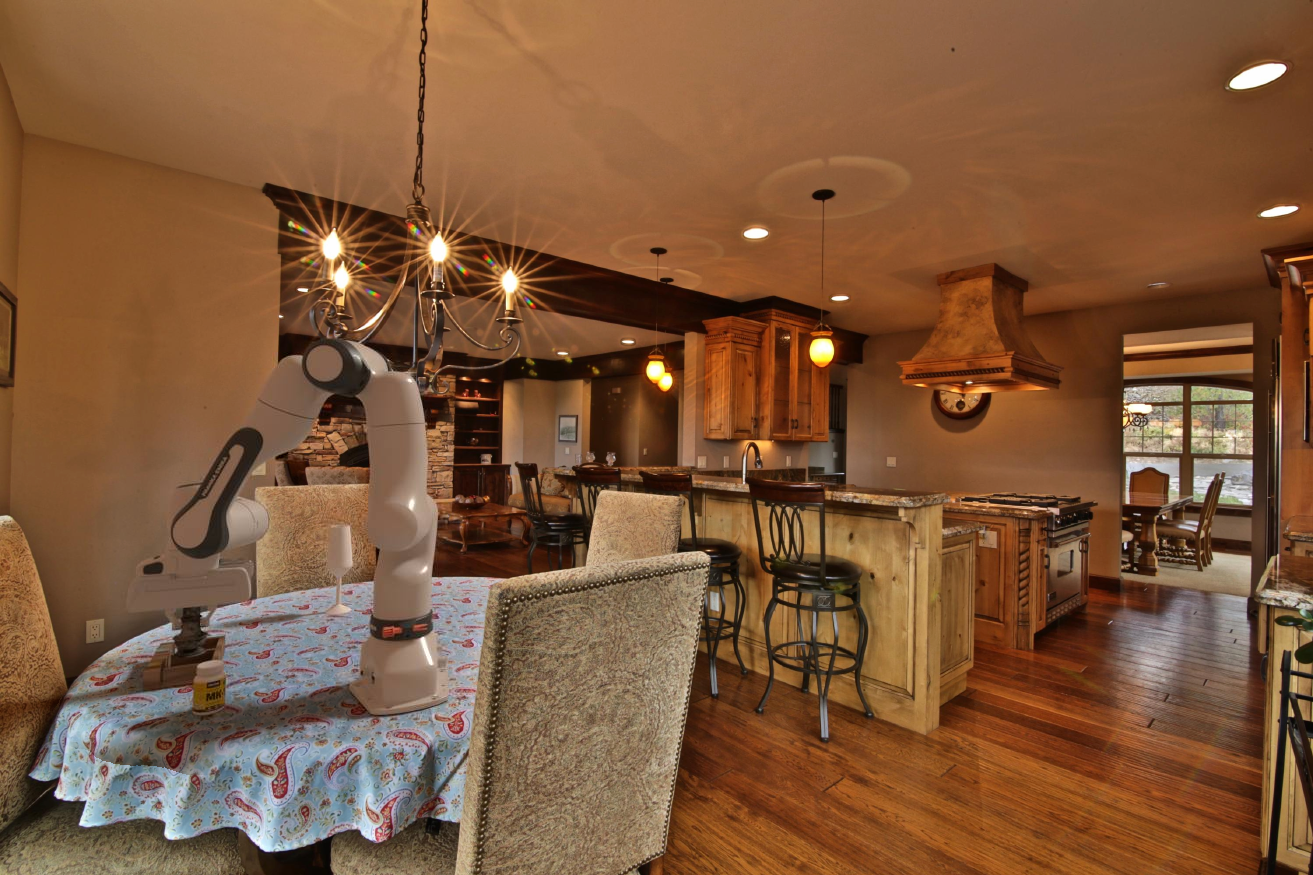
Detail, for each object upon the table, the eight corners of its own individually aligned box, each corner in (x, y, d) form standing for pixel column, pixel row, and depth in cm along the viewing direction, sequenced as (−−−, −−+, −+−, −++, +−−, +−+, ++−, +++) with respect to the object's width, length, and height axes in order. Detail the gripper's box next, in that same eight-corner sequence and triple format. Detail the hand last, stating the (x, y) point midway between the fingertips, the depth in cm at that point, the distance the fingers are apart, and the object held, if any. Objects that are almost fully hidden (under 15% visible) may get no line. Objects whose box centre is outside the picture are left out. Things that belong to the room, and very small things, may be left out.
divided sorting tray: (216, 679, 122) (216, 660, 122) (142, 691, 116) (143, 670, 116) (224, 651, 137) (225, 634, 137) (160, 659, 131) (160, 641, 131)
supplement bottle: (205, 718, 106) (207, 670, 106) (185, 713, 107) (187, 667, 107) (231, 706, 111) (232, 660, 111) (212, 702, 112) (213, 657, 112)
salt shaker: (166, 654, 122) (168, 595, 122) (199, 646, 127) (200, 589, 127) (180, 660, 119) (182, 600, 119) (214, 651, 125) (215, 594, 124)
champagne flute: (350, 606, 174) (352, 523, 174) (352, 612, 168) (355, 527, 168) (323, 609, 170) (326, 524, 170) (325, 615, 165) (328, 528, 165)
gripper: (254, 554, 131) (252, 617, 131) (132, 561, 121) (130, 630, 121) (253, 560, 126) (251, 625, 126) (125, 568, 115) (122, 640, 115)
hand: (191, 628), depth 123 cm, fingers closed on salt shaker, 3 cm apart
